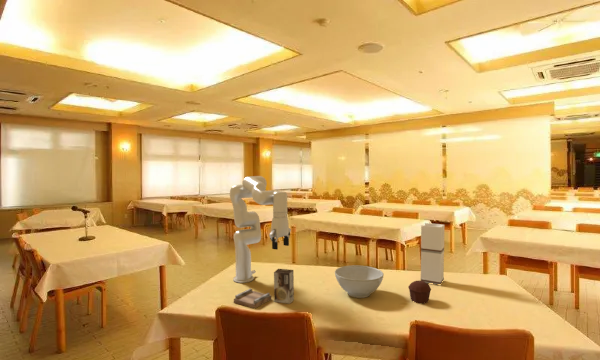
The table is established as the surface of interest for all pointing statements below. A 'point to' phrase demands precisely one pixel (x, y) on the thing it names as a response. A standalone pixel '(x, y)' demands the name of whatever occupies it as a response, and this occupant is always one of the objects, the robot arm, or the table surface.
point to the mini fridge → (432, 253)
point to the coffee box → (283, 286)
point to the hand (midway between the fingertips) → (280, 247)
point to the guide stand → (251, 298)
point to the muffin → (419, 291)
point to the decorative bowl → (359, 280)
